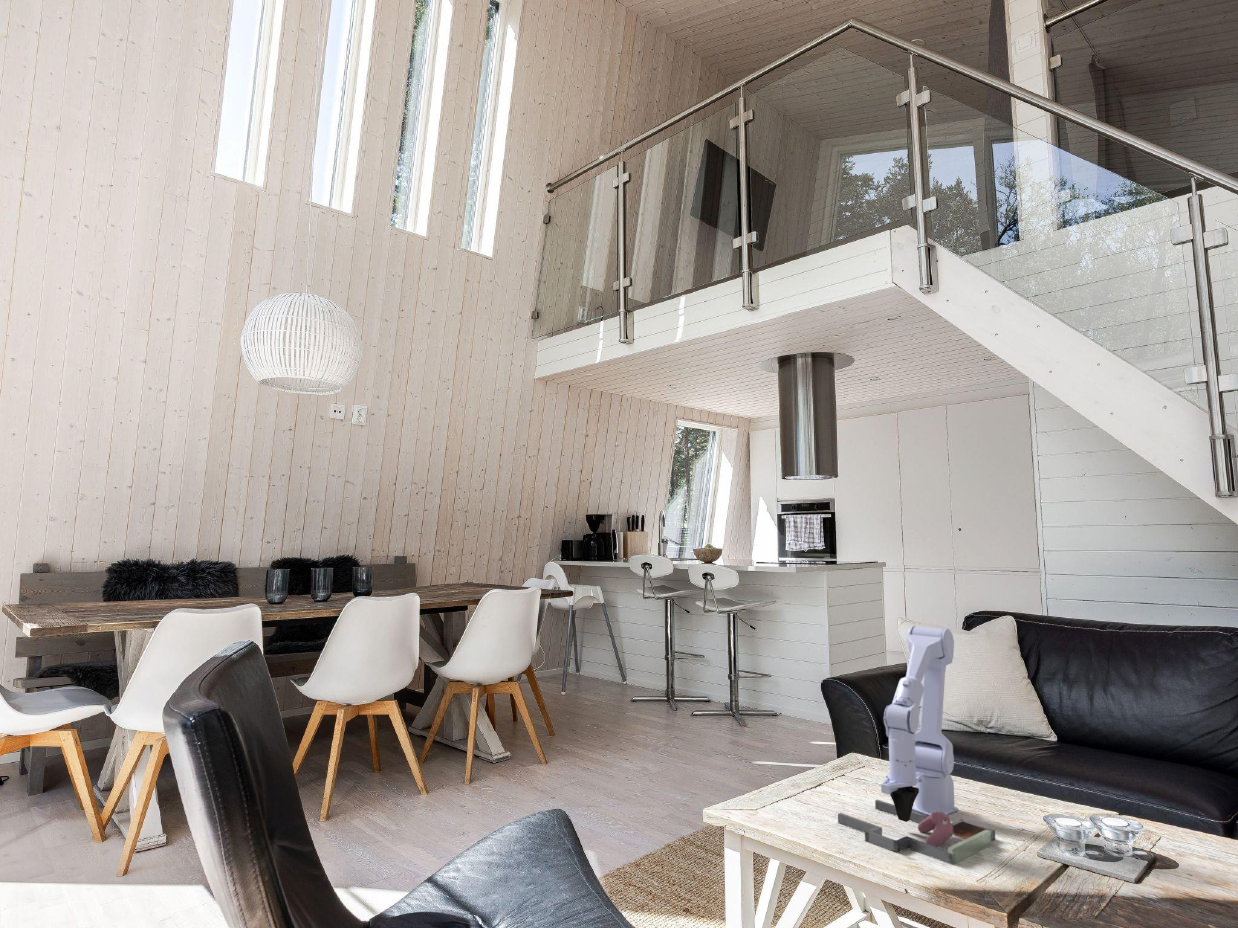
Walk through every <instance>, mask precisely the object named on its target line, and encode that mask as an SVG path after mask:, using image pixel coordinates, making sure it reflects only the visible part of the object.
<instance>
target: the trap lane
mask: <svg viewBox="0 0 1238 928" xmlns="http://www.w3.org/2000/svg"><path fill="white" fill-rule="evenodd" d="M874 802H875V803H874V804H875V806H874V808H875V809H876V810H877V809H878V811H881V812H883V811H884V812H883V813H886V812H887V814H889V813H890V815H892V814H893V816H895V815H897V812H896V809H895V805H894V803H890V802H886V801H883V800H880V799H875V800H874ZM928 816H929V815H926V814H923V813H920V812H917V811H913V810H912V812H911V816H910V820H911V821H912V822H914V821H915V822H914V823H917V824H919V823H920V822H921V821H923V820H924V819H926V818H927V817H928ZM910 820H909V821H910ZM837 823H838V824H840V825H843V826H846V827H848V826H849V828H851V827H852V828H851V829H854V830H857V831H859V830H860V831H859V832H862V833H864V841H865V842H868V843H870V844H872V843H873V844H872V845H875V844H876V845H875V846H878V847H880V846H882V847H881V848H883V847H885V848H884V849H886V848H887V849H886V850H889V849H890V850H889V851H891V850H894V851H896V852H895V853H897V852H899V853H901V852H902V851H901V850H903V851H905V850H904V849H906V850H907V848H908V849H909V848H910V849H909V850H912V849H913V850H912V851H914V850H916V851H915V852H918V853H920V852H921V854H923V853H924V854H923V855H925V854H926V856H928V855H929V856H928V857H931V856H933V857H932V858H934V859H936V858H937V860H939V859H940V860H939V861H942V862H946V863H948V864H950V863H951V864H950V865H954V864H956V863H958V862H960V861H962V860H965V859H967V858H968V857H970V856H973V855H974V854H976V853H979V852H981V851H983V850H984V849H986V848H989V847H991V846H992V842H993V841H995V840H996V830H995V829H994V828H990V827H987V826H984V825H980V824H977V823H973V822H970V821H968V820H964V819H962V818H959V819H957V820H955V821H953V822H951V825H952V826H953V836H955V837H956V836H957V837H959V838H962V839H963V840H960V841H959V842H957V843H955V844H952V845H950V846H948V847H947V849H945V848H942V847H939V846H937V847H936V846H933V845H931V844H928V843H926V841H922V840H919V839H916V838H913V837H910V836H908V835H906V836H903V837H900V838H899V839H893V838H890V837H887V836H885V835H883V827H882V826H879V825H876V824H874V823H871V822H867V821H866V820H865V821H864V820H861V819H859V818H856V817H854V816H850V815H849V814H844V813H842V812H839V813H837ZM894 851H893V852H894ZM900 851H901V852H900Z"/></svg>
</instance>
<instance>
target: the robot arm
mask: <svg viewBox="0 0 1238 928" xmlns="http://www.w3.org/2000/svg"><path fill="white" fill-rule="evenodd" d="M906 642H907V647H908V650H909V652H910V655H909V660H908V663H907V664H908V665H907V670H906V673H905V676H904V677H901V678H900V679H899V681H898V684H897V687H896V688H895V689H896V690H895V693H894V696H893V699H892V703H891V704H890V703H889V705H886V707H885V709H884V712H883V724H884V727H885V735H886V737H887V738H888V755H889V756H888V758H889V759H888V762H889V763H888V765H889V767H888V769H889V773H886V774H885V779H886V780H885V781H884V782H882V783H880V791H881V793H883V794H886V795H888V796H889V795H890V798H891V799H892V800H891V801H892V802H893V805H895V809H896V812H897V816H896V817H897V819H898V820H899V821H902V822H904V823H907V822H909V821H910V816H911V812H912V811H915V812H918V813H921V814H924V815H927V816H930V815H931V814H932V813H933V812H935V811H936V810H937V812H943V813H945V814H946V815H949V814H951V813H954V812H956V811H958V810H959V808H958V807H956V806H955V788H954V787H955V785H954V780H953V777H952V776H951V774H952V772H953V770H954V766H955V756H954V745H953V743H952V741H950V740H949V739H948V738H947V737H946V736H945V735H944V734H943V733H942V727H943V713H944V699H945V698H944V697H945V696H944V695H945V682H946V681H945V680H946V670H947V666H948V665H949V664H952V663H953V659H954V650H955V639H954V635H953V632H952V630H950V629H949V628H938V627H937V628H936V627H935V628H934V627H926V626H916V625H911V626H910V628H909V629H908V630H907V634H906ZM922 681H923V683H922ZM921 703H922V704H921ZM920 704H921V710H920V709H919V708H920ZM920 712H921V713H920ZM920 714H921V717H920ZM919 725H920V729H919V730H918V728H919ZM925 743H927V744H925ZM928 743H929V744H928ZM930 744H933V745H930ZM935 745H938V746H935Z"/></svg>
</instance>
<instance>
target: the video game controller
mask: <svg viewBox="0 0 1238 928" xmlns="http://www.w3.org/2000/svg"><path fill="white" fill-rule="evenodd" d="M927 816H928V817H927V818H926V819H924V820H923V821H921V822H920V823H918V825H917V830H918V831H919V832H920V833H922V832H925V833H928V832H931V831H932V833H931V834H929V836H928V837H927V838H926V839H925V843H928V844H931V845H933V846H936V847H939V846H941V845H942V844H944V843H945V842H946V841H948V840H949V839H950V838H951V837H953V836H954V835H953V826H952V825H951V823H952V822H951V819H950V816H949V814H947V815H946V814H945V813H943V812H937V810H936V811H935V812H933V813H932V814H931V815H930V816H929V815H927Z"/></svg>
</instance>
